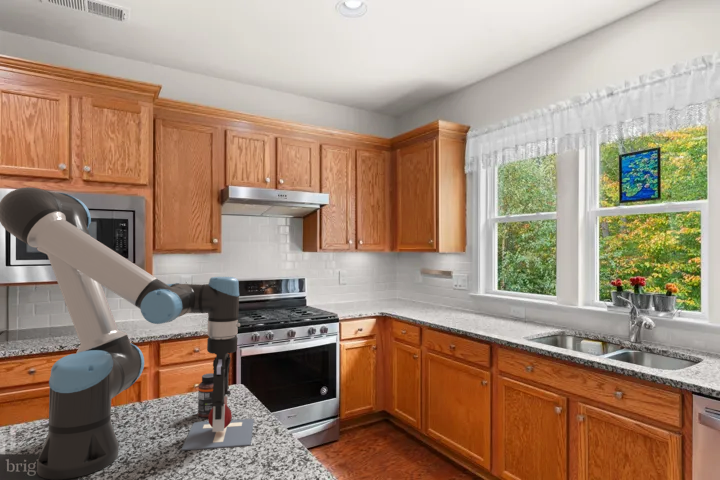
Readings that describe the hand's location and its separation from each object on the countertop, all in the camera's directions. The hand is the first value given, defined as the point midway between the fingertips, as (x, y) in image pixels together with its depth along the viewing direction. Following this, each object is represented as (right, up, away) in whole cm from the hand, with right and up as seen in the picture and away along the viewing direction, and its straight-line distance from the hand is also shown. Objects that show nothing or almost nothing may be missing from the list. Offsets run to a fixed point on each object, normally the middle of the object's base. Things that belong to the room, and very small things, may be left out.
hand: (219, 425), depth 110 cm
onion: (0, -2, 0) cm, 2 cm away
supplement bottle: (-7, -3, +13) cm, 15 cm away
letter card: (0, -2, 0) cm, 2 cm away
